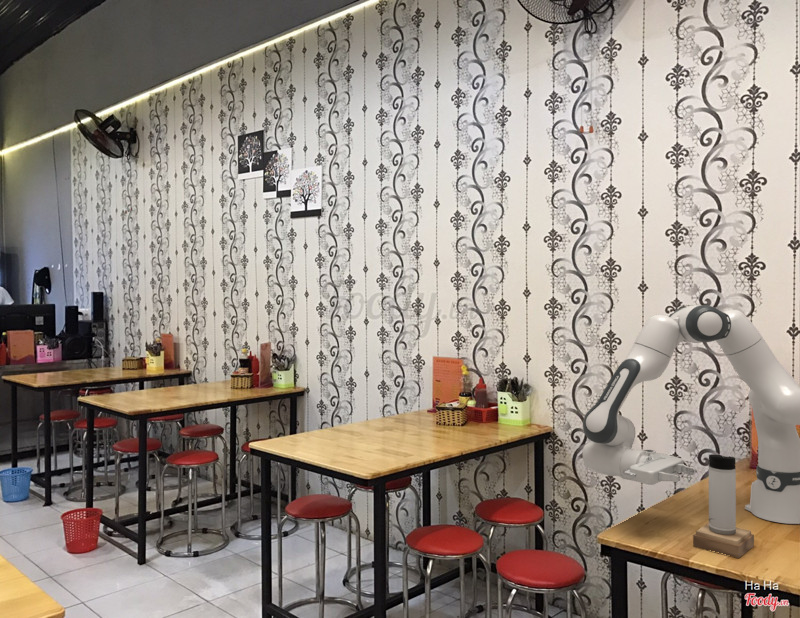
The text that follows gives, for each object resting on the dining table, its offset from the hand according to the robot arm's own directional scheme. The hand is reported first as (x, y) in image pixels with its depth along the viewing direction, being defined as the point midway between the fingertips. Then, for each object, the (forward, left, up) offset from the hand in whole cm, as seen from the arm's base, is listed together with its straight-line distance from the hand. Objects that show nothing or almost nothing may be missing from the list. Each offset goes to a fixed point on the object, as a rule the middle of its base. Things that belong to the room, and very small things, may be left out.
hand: (686, 475), depth 174 cm
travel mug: (0, +9, -13) cm, 16 cm away
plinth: (0, +9, -17) cm, 19 cm away
